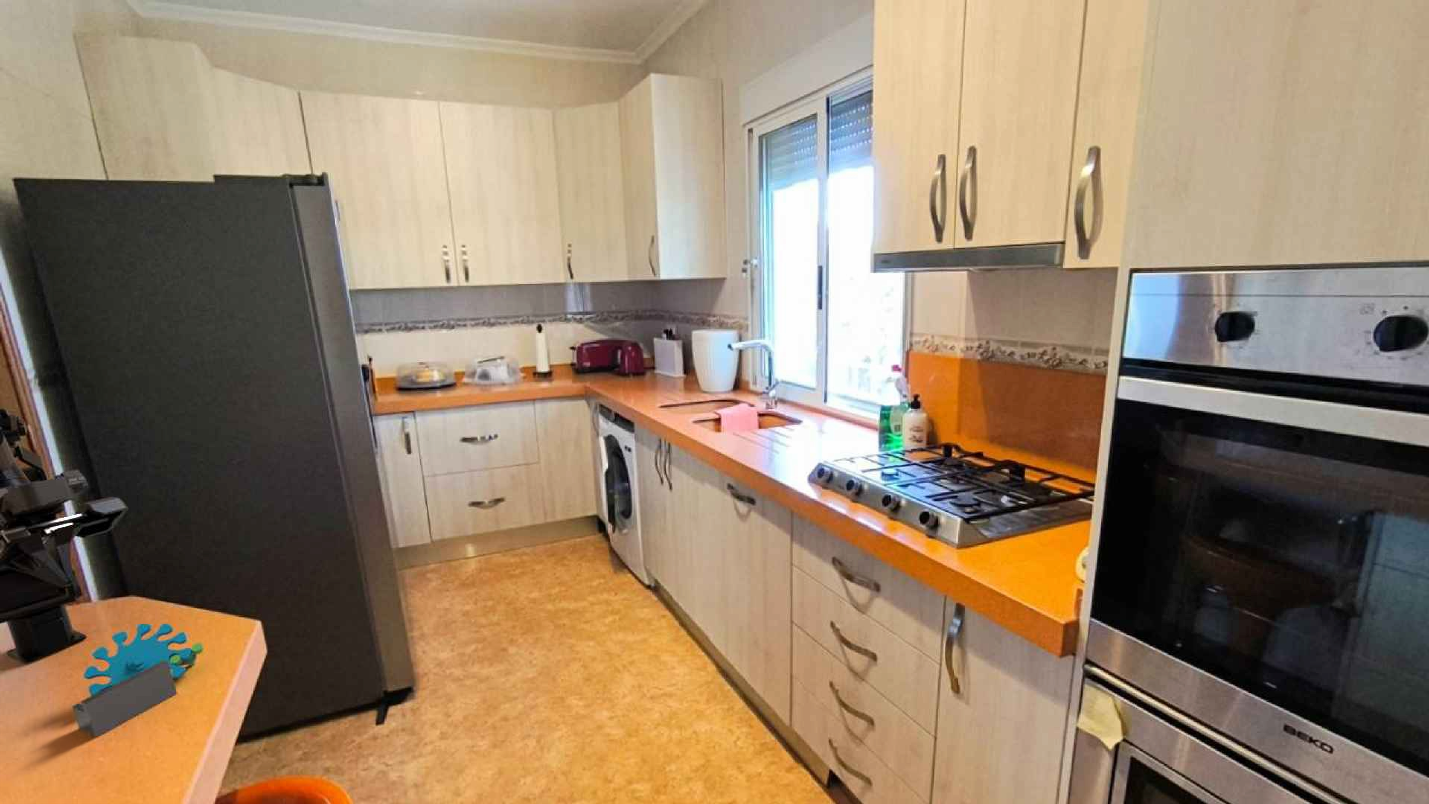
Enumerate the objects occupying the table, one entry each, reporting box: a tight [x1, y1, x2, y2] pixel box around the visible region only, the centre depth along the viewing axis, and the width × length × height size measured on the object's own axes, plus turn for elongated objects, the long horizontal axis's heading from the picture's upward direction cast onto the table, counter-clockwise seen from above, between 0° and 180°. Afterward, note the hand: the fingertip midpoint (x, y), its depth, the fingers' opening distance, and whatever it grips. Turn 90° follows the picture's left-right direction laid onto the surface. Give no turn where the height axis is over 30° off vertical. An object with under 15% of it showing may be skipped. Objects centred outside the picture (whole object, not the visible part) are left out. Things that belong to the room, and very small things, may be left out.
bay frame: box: [71, 661, 178, 738], centre depth 73 cm, size 4×8×4 cm, turn 156°
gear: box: [83, 622, 204, 697], centre depth 79 cm, size 11×6×10 cm
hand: (68, 584), depth 79 cm, fingers closed
